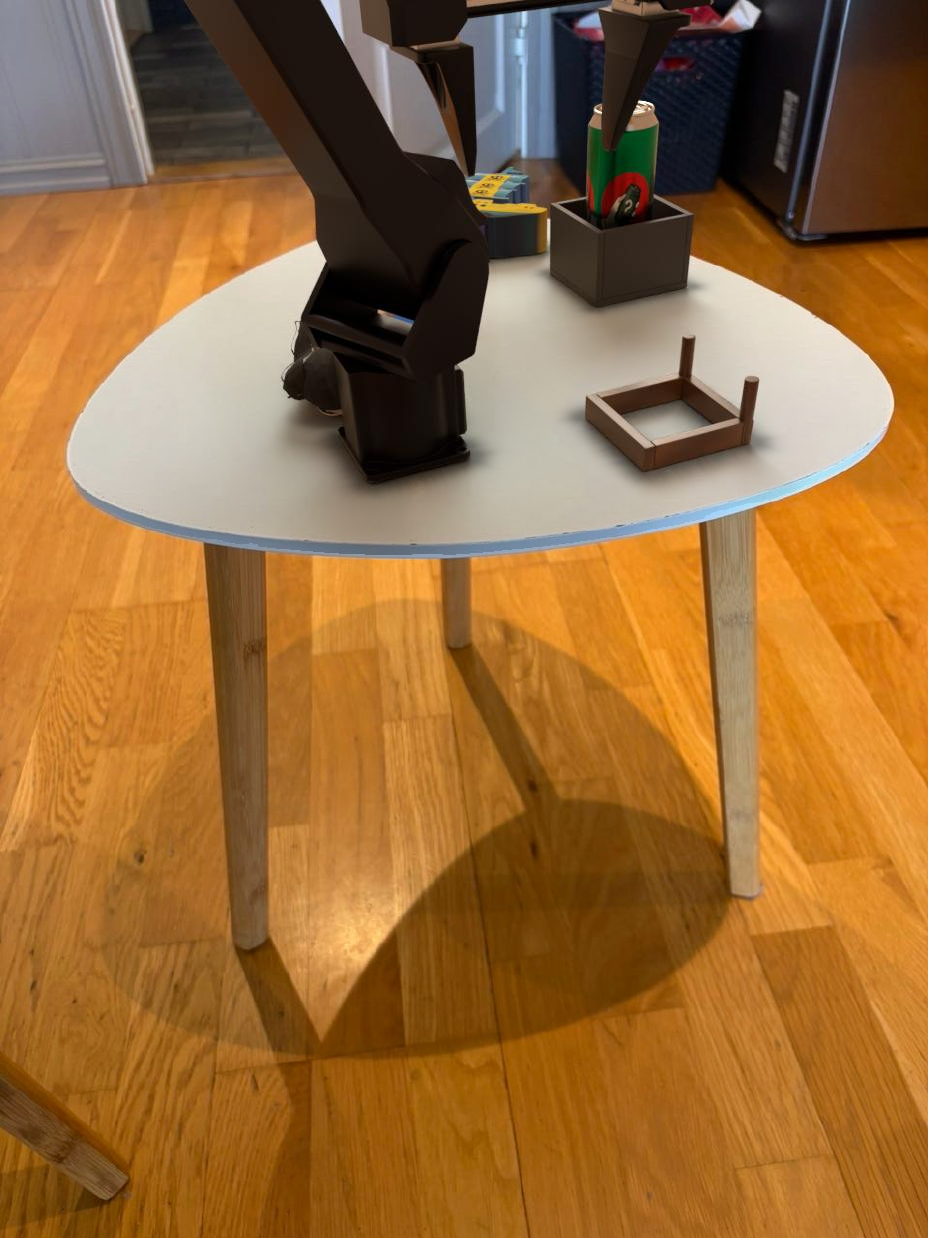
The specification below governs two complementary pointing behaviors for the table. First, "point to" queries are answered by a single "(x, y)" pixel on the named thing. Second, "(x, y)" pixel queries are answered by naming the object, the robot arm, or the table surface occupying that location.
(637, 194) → the soda can
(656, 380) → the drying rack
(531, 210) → the toy
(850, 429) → the table surface
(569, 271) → the open-top storage bin
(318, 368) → the toy figure
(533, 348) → the table surface
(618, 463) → the table surface
